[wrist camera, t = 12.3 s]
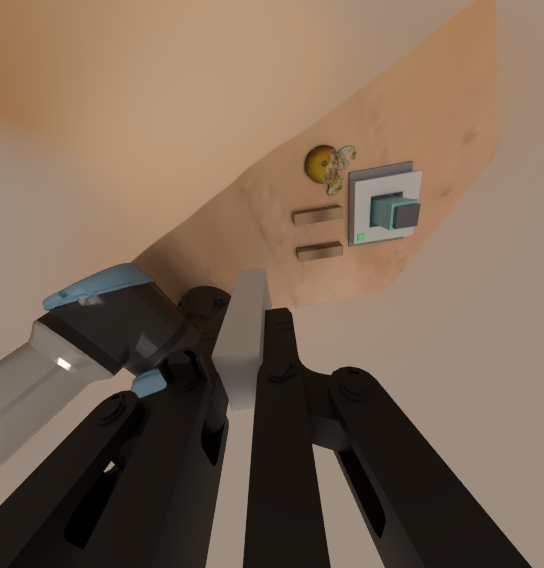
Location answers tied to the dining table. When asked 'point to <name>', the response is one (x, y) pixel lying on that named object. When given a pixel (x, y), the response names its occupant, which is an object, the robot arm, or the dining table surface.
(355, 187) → the port
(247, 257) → the dining table surface
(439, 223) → the dining table surface
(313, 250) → the pair of wooden rails
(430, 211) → the dining table surface
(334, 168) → the fruit
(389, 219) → the plug
